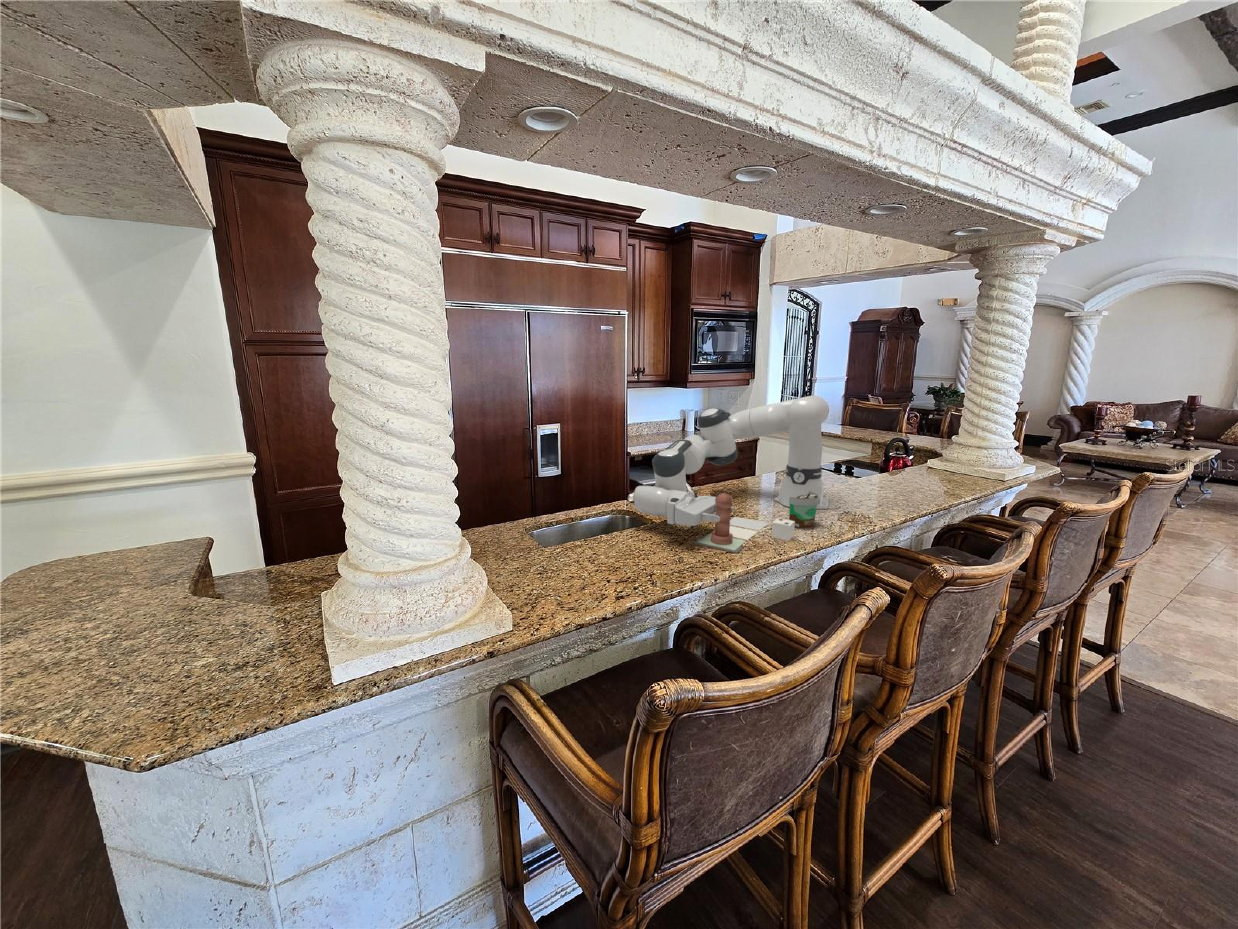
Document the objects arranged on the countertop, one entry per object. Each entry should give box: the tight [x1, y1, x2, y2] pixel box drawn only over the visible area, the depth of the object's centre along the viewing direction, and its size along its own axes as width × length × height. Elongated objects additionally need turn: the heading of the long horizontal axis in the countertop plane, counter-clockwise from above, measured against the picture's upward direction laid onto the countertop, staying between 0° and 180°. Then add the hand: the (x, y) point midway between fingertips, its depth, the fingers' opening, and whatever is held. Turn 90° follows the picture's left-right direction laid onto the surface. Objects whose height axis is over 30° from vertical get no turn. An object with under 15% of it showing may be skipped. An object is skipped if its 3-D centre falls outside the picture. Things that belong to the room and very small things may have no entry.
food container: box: [788, 491, 820, 529], centre depth 155 cm, size 12×6×10 cm, turn 131°
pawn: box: [711, 492, 734, 545], centre depth 140 cm, size 6×6×14 cm
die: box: [770, 517, 795, 542], centre depth 145 cm, size 5×5×5 cm
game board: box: [692, 516, 769, 554], centre depth 149 cm, size 31×13×1 cm, turn 146°
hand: (726, 514), depth 139 cm, fingers open, 8 cm apart
